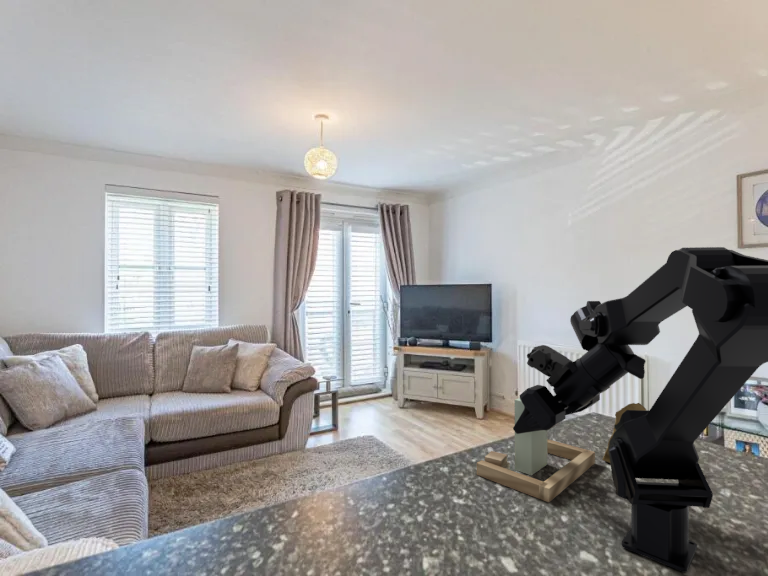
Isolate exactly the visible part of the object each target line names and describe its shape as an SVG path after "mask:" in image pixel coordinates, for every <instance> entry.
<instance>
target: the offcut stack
mask: <svg viewBox="0 0 768 576" xmlns="http://www.w3.org/2000/svg"><path fill="white" fill-rule="evenodd" d="M484 461H486V462H488V463H491V464H494V465H497V466H500V467H503V468H506V469H508V470H511V465H510V464H511V463H510V462H509V461H508V454H506V453H501V452H498V451H494V450H491V451H489V452H488V453H487V454H486V455H485V456H484Z"/></svg>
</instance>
